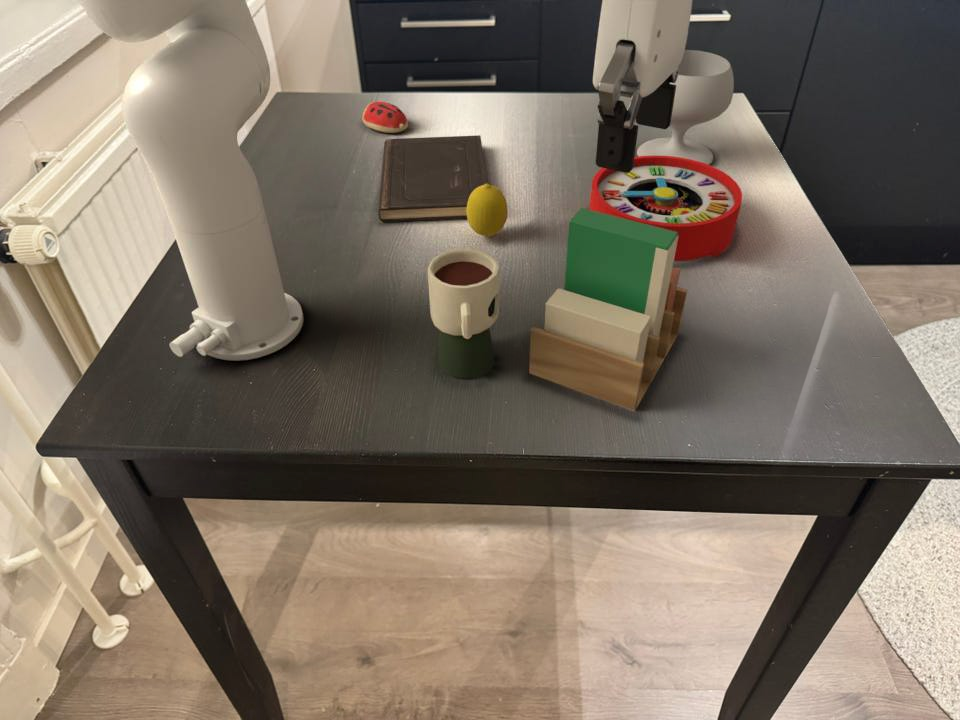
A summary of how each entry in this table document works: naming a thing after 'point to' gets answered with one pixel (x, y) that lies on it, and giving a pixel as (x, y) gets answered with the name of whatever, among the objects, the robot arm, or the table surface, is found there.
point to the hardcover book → (430, 177)
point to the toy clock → (673, 201)
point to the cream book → (597, 324)
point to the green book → (620, 263)
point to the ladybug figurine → (384, 117)
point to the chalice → (694, 104)
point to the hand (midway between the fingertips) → (634, 146)
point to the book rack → (604, 361)
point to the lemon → (486, 210)
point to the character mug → (464, 310)
